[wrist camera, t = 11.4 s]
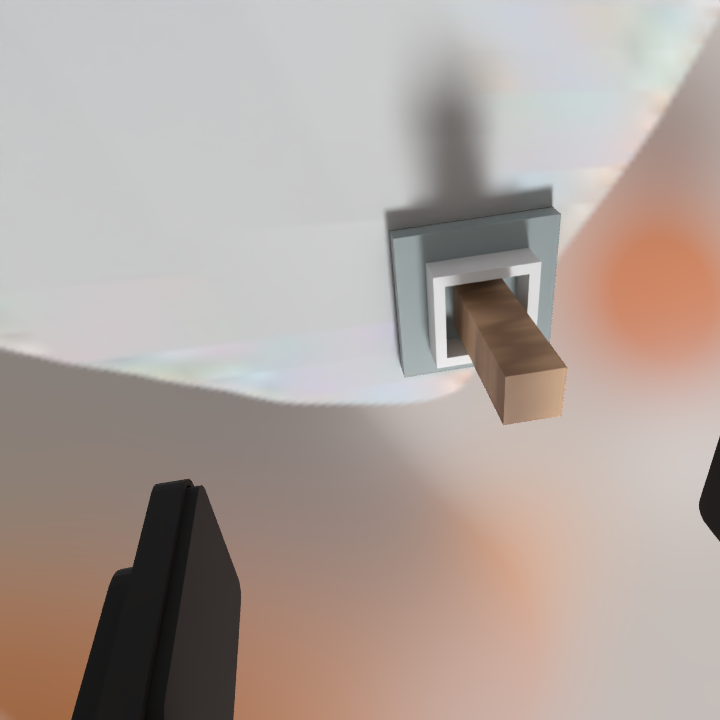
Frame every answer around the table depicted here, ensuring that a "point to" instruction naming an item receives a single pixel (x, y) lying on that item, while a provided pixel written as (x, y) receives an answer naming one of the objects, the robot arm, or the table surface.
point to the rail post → (509, 352)
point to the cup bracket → (468, 279)
